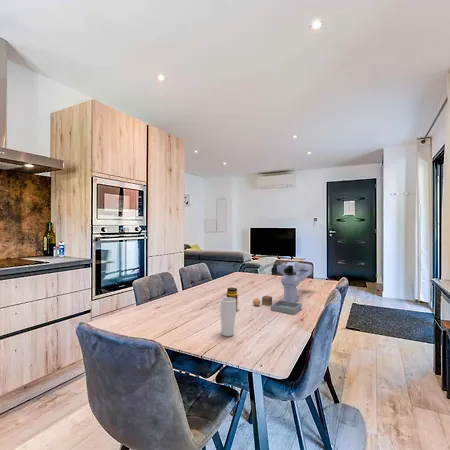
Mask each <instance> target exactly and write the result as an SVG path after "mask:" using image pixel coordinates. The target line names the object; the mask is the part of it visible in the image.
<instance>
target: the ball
mask: <svg viewBox="0 0 450 450" xmlns="http://www.w3.org/2000/svg"><path fill="white" fill-rule="evenodd" d="M252 304H253V305H254V306H256V307H257V306H260V305H261V300H260V298H259V297H254V299H253V300H252Z"/></svg>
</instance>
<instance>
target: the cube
mask: <svg viewBox="0 0 450 450" xmlns="http://www.w3.org/2000/svg"><path fill="white" fill-rule="evenodd" d="M272 304H273V296H269V295H264V296H262V297H261V305H262V306H267V307H271V305H272Z"/></svg>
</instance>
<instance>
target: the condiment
mask: <svg viewBox="0 0 450 450" xmlns="http://www.w3.org/2000/svg"><path fill="white" fill-rule="evenodd" d="M238 294H239V293H238V289H237V288H236V287H228V288H227V292H226V297H230V298H235V299H236V312H238V311H239V310H241V309H240V308H238V296H239V295H238ZM226 297H225V298H226Z"/></svg>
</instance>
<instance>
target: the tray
mask: <svg viewBox="0 0 450 450" xmlns="http://www.w3.org/2000/svg"><path fill="white" fill-rule="evenodd" d="M302 309H303V308H302V303H298V302H289V301H283V300H282V299H279V300H277V301H276V302H274V303H272V305H270V311H272V312H277V313H282V314H287V315H291V316H295V315H296V314H298V312H300V311H301V310H302Z"/></svg>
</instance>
